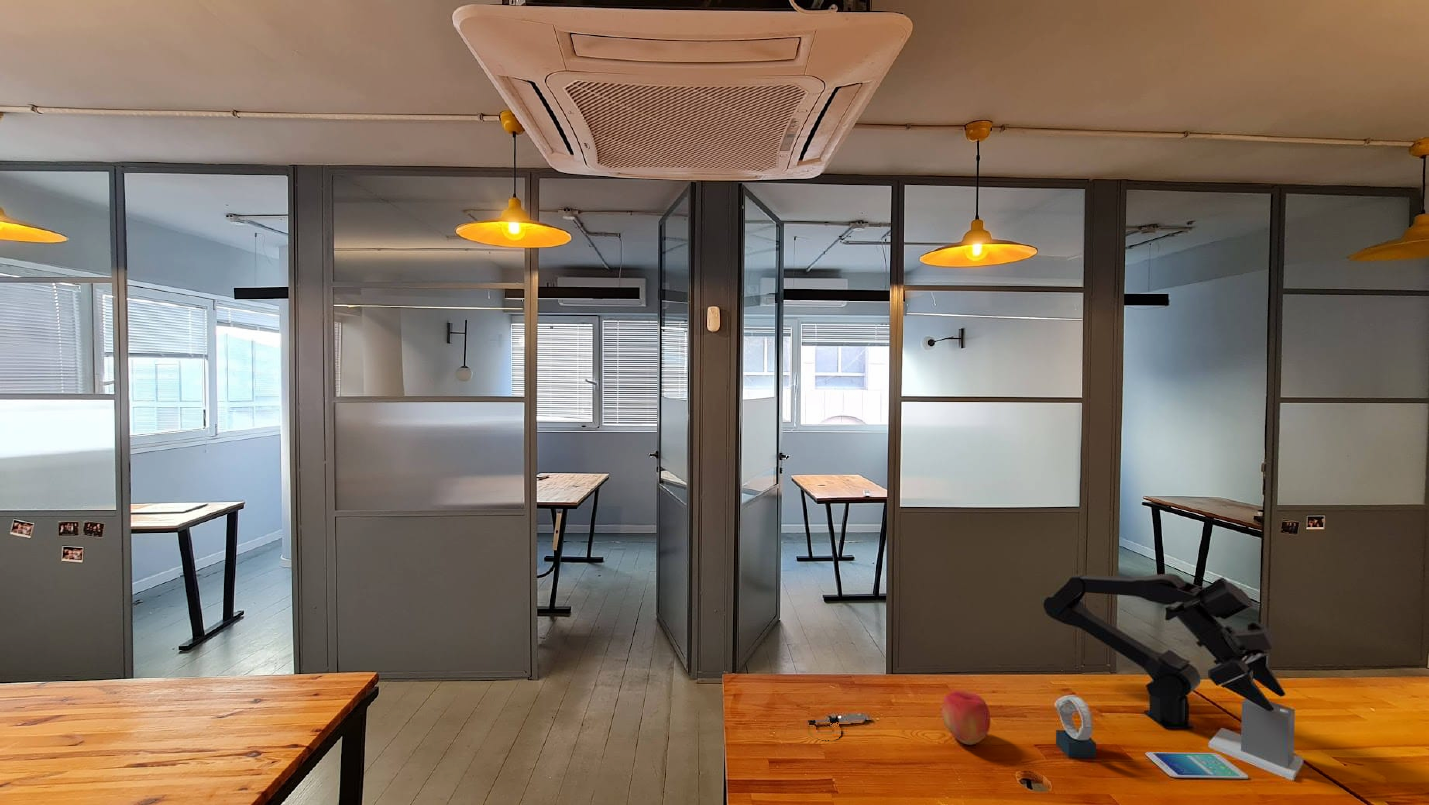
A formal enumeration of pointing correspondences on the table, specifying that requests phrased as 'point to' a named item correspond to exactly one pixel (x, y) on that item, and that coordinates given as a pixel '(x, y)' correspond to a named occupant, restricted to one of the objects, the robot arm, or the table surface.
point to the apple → (966, 716)
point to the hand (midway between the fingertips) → (1277, 702)
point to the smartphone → (1195, 765)
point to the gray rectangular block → (1268, 733)
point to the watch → (1070, 738)
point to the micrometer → (842, 718)
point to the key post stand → (1232, 747)
